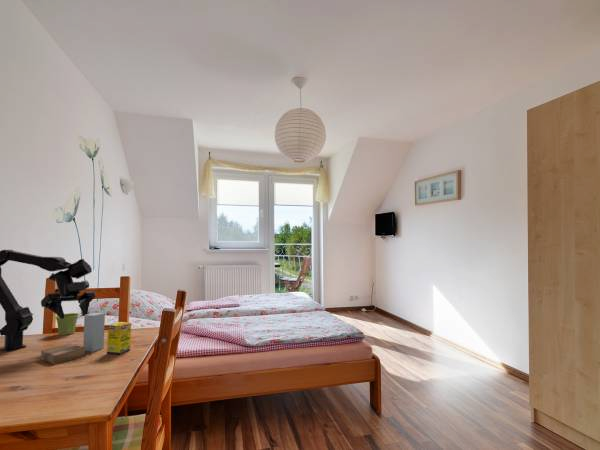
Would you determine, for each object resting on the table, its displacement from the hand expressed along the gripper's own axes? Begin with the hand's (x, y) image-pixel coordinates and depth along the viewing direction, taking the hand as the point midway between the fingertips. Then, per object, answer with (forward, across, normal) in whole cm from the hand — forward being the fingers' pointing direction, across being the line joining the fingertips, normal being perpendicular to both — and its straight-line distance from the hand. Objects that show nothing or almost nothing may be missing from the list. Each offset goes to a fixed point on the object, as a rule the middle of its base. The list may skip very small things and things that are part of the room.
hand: (75, 317), depth 133 cm
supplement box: (+21, +7, -8) cm, 24 cm away
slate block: (+14, +5, +2) cm, 15 cm away
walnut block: (+14, -6, +4) cm, 16 cm away
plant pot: (-7, +15, +29) cm, 34 cm away
